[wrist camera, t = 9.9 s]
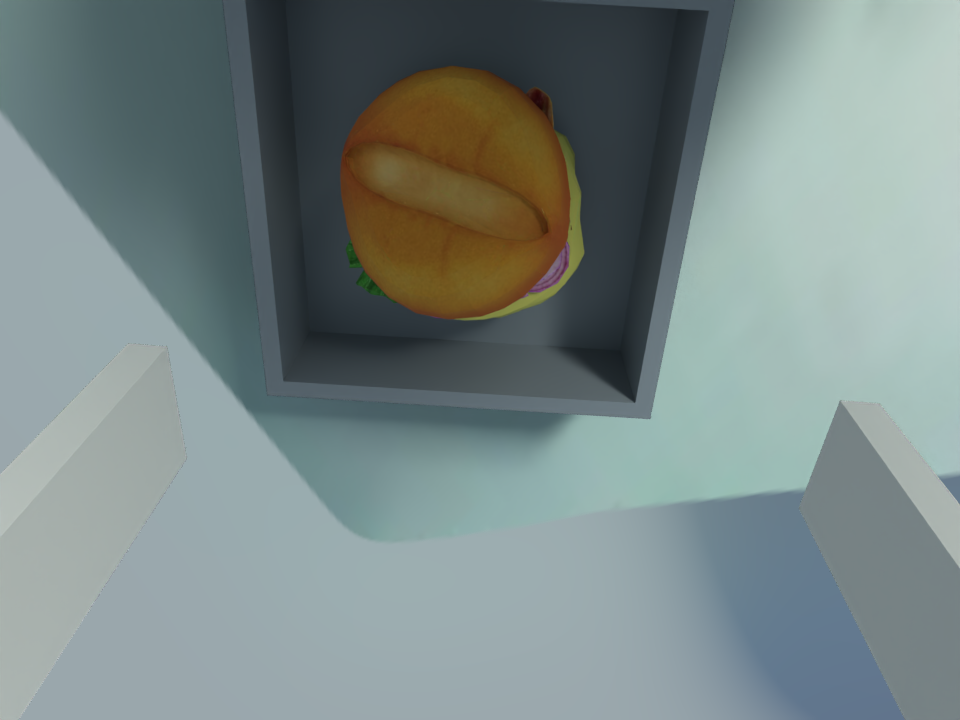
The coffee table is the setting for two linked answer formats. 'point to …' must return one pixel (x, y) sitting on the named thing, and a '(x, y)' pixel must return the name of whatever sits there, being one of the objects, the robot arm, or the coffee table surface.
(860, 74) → the coffee table surface
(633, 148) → the bin
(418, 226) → the cheeseburger
